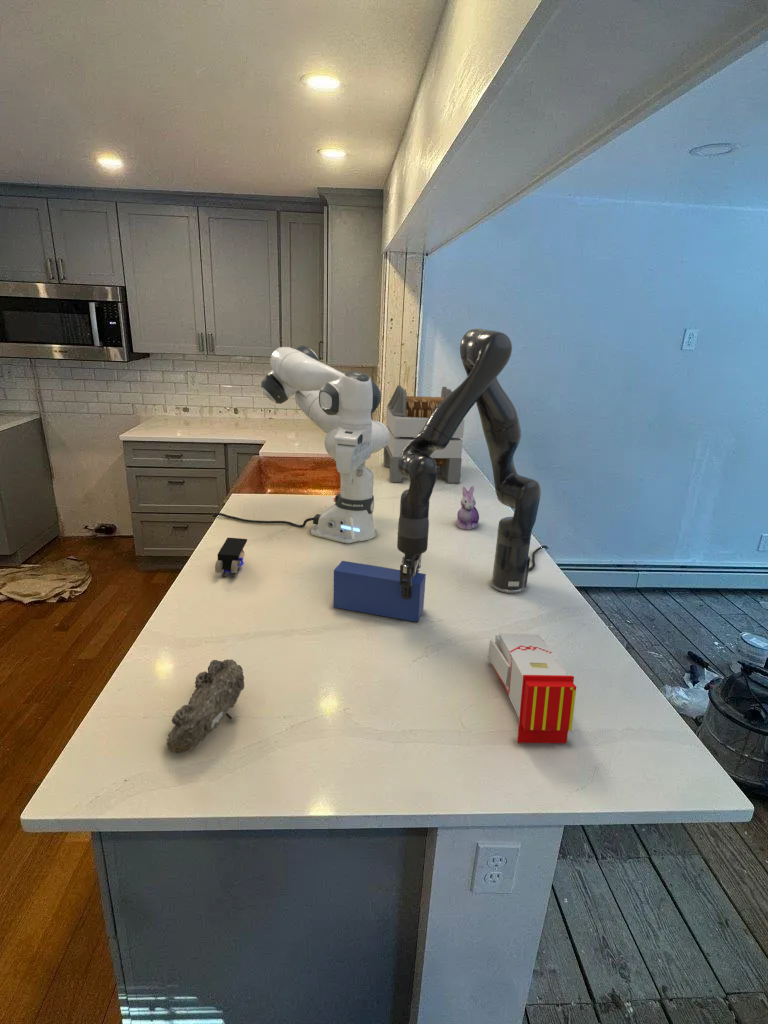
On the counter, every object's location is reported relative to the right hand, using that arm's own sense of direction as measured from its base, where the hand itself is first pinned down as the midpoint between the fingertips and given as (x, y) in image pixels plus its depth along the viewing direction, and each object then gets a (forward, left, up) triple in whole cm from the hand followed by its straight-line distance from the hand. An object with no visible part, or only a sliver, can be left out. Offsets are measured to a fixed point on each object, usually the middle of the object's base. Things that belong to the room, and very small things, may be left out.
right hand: (409, 591), depth 145 cm
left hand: (0, -30, +21) cm, 37 cm away
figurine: (-56, -43, -7) cm, 71 cm away
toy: (-2, +39, -7) cm, 39 cm away
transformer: (-81, -109, -7) cm, 136 cm away
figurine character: (+31, -46, -7) cm, 56 cm away
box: (+5, -6, -6) cm, 10 cm away
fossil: (+55, +14, -7) cm, 57 cm away
